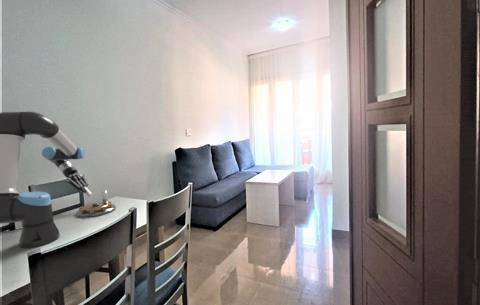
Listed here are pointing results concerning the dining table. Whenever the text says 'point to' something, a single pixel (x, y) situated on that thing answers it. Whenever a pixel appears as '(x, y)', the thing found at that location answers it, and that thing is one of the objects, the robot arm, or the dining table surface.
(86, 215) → the grey plate
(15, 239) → the dining table surface
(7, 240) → the dining table surface
